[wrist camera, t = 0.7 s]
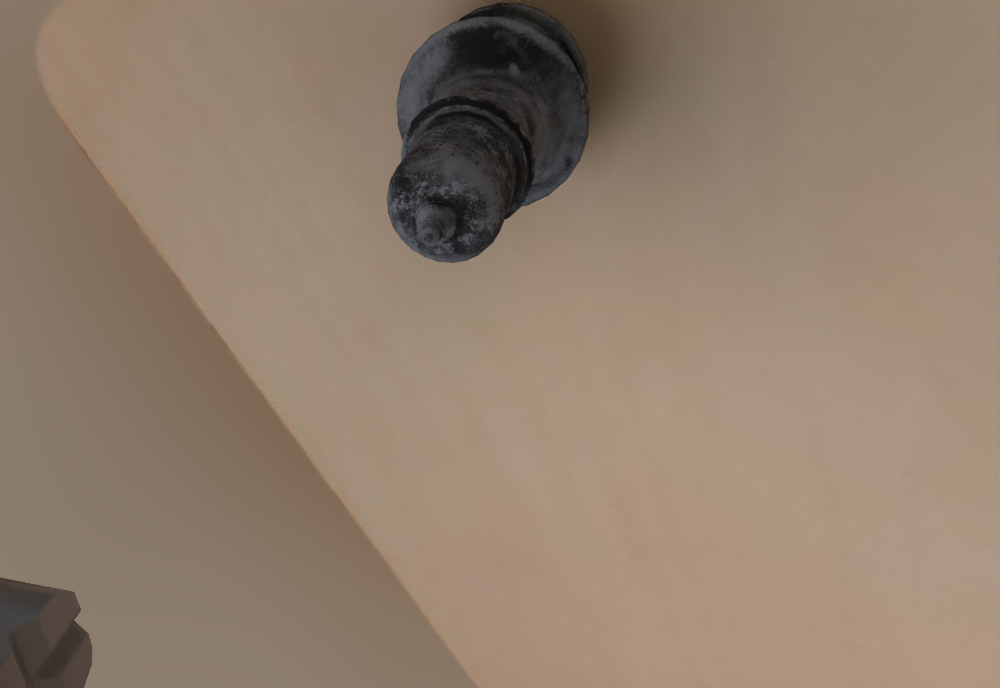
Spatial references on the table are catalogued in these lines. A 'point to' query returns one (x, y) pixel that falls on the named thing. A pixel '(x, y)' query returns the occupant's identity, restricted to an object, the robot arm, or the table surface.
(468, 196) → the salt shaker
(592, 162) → the table surface
